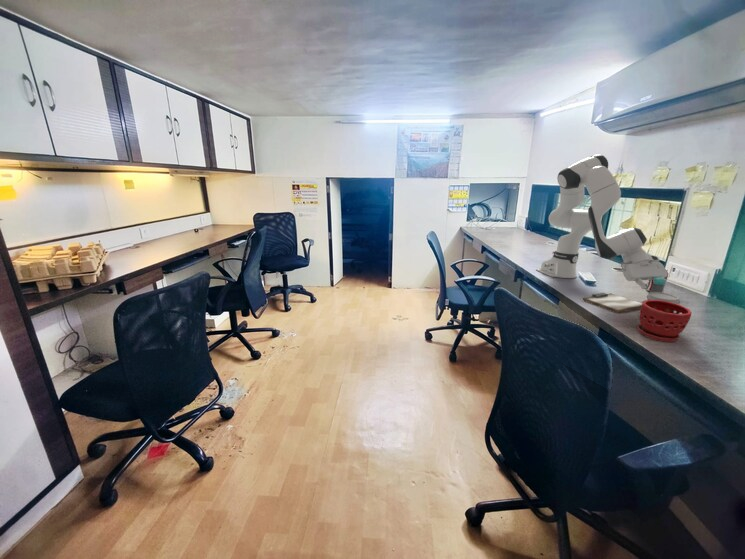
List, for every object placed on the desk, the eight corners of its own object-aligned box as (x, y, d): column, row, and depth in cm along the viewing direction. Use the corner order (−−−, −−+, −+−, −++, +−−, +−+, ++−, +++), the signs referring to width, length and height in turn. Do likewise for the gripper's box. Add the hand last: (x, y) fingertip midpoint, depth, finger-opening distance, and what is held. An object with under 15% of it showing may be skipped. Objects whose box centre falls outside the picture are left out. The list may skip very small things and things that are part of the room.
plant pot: (626, 331, 118) (634, 302, 114) (648, 326, 122) (657, 297, 119) (667, 348, 106) (677, 315, 103) (690, 341, 111) (701, 310, 107)
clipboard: (582, 300, 149) (583, 295, 148) (610, 295, 155) (611, 291, 154) (617, 313, 134) (618, 307, 134) (646, 307, 140) (647, 302, 140)
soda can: (666, 294, 156) (673, 271, 153) (650, 293, 158) (657, 270, 154) (657, 289, 163) (663, 267, 159) (642, 289, 164) (648, 267, 160)
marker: (644, 305, 142) (652, 277, 138) (650, 304, 143) (658, 276, 139) (654, 309, 138) (662, 280, 134) (660, 307, 140) (668, 279, 136)
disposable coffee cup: (633, 318, 129) (641, 291, 125) (657, 319, 128) (665, 291, 125) (652, 329, 120) (661, 300, 116) (678, 329, 119) (687, 300, 116)
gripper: (625, 258, 140) (641, 285, 134) (661, 256, 144) (678, 283, 138) (613, 265, 146) (628, 292, 140) (648, 263, 150) (664, 289, 144)
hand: (653, 287), depth 139 cm, fingers open, 8 cm apart
